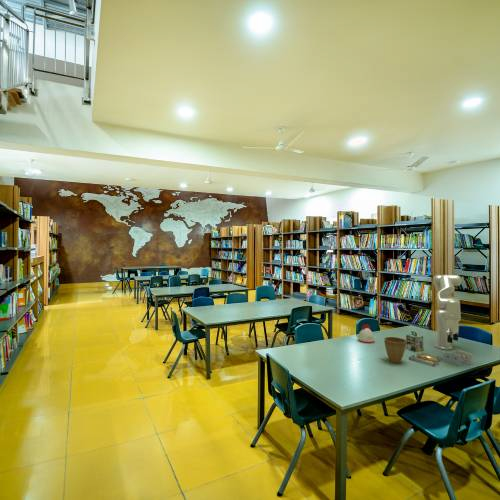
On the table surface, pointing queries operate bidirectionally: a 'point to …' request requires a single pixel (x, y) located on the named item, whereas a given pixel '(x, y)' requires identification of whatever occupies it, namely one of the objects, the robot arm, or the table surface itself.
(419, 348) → the model building
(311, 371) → the table surface
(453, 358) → the grey block
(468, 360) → the cassette
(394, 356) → the plant pot
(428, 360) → the hinge base
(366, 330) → the cupcake
